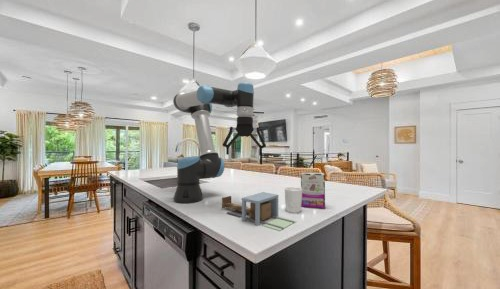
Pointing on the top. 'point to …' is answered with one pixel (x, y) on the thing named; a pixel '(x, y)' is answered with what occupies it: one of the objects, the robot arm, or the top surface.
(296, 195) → the white cup
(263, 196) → the tunnel
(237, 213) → the dark grey flat plate
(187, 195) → the robot arm
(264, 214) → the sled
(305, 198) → the candy bar box
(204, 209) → the top surface
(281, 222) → the mat
